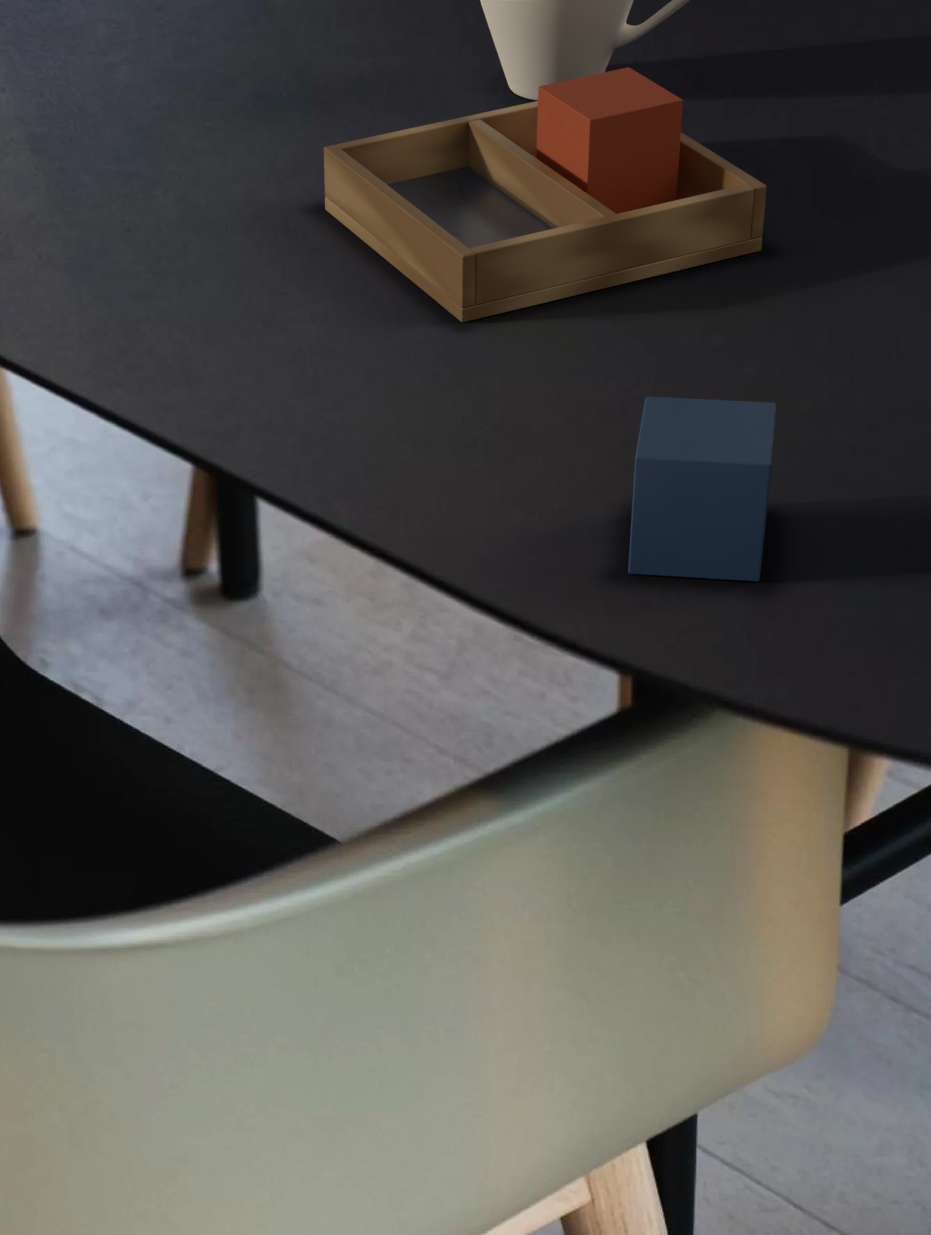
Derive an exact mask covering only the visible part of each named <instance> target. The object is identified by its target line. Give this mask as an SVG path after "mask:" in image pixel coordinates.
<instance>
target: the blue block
mask: <svg viewBox="0 0 931 1235" xmlns="http://www.w3.org/2000/svg"><path fill="white" fill-rule="evenodd" d="M641 415H642V416H641V421H640V427H639V433H638V437H637V438H638V439H637V444H636V451H635V456H634V467H633V468H634V469H633V470H634V471H633V487H632V504H631V519H630V521H631V522H630V536H629V552H628V568H627V572H628V574H629V575H640V576H641V575H642V576H658V577H673V578H688V579H689V578H691V579H707V580H723V581H740V582H741V581H742V582H754V583H755V582H757V583H758V582H760V581H761V575H762V574H761V573H762V565H763V564H762V563H763V553H764V543H765V534H766V525H767V524H766V523H767V513H768V503H769V495H770V494H769V492H770V484H771V483H770V482H771V475H772V474H771V473H772V464H773V463H772V462H773V452H774V441H775V440H774V439H775V429H776V417H777V416H776V415H777V403H776V402H771V401H770V402H768V401H767V402H766V401H746V400H745V401H744V400H727V399H708V398H707V399H705V398H687V397H686V398H685V397H667V396H666V397H664V396H646V397H645V398H644V403H643V408H642V414H641Z"/></svg>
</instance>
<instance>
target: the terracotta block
mask: <svg viewBox="0 0 931 1235" xmlns="http://www.w3.org/2000/svg"><path fill="white" fill-rule="evenodd" d="M537 101H538V120H537V154H536V158H537V159H538V160H540V161H541V162H542V163H544V164H545V165H547V166H548V167H550V168H551V169H552V170H554V171H555V172H557V173H558V174H560V175H561V176H563V177H564V178H565V179H567V180H568V181H570V182H571V183H573V184H574V185H576V186H577V187H578V188H580V189H581V190H583V191H584V192H586V193H587V194H588V195H590V196H591V197H593V198H594V199H596V200H597V201H599V202H600V203H601V204H603V205H604V206H606V207H607V208H609V209H610V210H612V211H613V212H614V213H616V214H619V213H623V212H628V211H632V210H636V209H641V208H645V207H649V206H654V205H658V204H662V203H667V202H671V201H675V200H676V195H677V180H678V165H679V150H680V135H681V132H682V119H683V104H684V100H683V99H682V98H681V97H679V96H677V95H676V94H675V93H672V92H671V91H669V90H668V89H666V88H664V87H663V86H660V85H659V84H657V83H656V82H654V81H653V80H651V79H650V78H648V77H646V76H644V75H643V74H641V73H640V72H637V71H636V70H634V69H633V68H631V67H629V66H628V67H624V68H618V69H614V70H609V71H605V72H604V73H600V74H595V75H590V76H586V77H581V78H576V79H571V80H567V81H562V82H557V83H553V84H548V85H543V86H539V87H538V100H537Z"/></svg>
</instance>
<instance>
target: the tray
mask: <svg viewBox="0 0 931 1235" xmlns="http://www.w3.org/2000/svg"><path fill="white" fill-rule="evenodd" d="M537 120H538V100H534V101H532V102H531V101H530V102H527V103H522V104H517V105H513V106H508V107H504V108H498V109H493V110H490V111H489V110H488V111H485V112H480V113H476V114H470V115H466V116H462V117H457V118H452V119H448V120H443V121H442V120H441V121H438V122H433V123H429V124H424V125H420V126H415V127H410V128H405V129H402V130H397V131H392V132H391V131H390V132H387V133H383V134H377V135H373V136H369V137H368V136H367V137H364V138H359V139H354V140H350V141H345V142H340V143H336V144H331V145H327V146H324V147H323V168H324V169H323V170H324V171H323V174H324V175H323V176H324V196H325V197H324V209H325V211H326V212H327V213H329V214H330V215H331V216H333V217H334V219H336V220H337V221H338V222H339V223H341V225H343V226H344V227H345V228H347V229H348V230H349V231H350V232H352V233H353V234H354V235H355V236H356V237H358V238H359V239H360V240H361V241H362V242H364V243H365V244H366V245H367V246H368V247H370V248H371V249H372V250H373V251H374V252H376V253H377V254H378V255H379V256H381V257H382V258H383V259H384V260H386V261H387V262H388V263H389V264H391V266H393V267H394V268H395V269H396V270H398V271H399V272H400V273H401V274H402V275H404V276H405V277H406V278H407V279H409V280H410V281H411V282H412V283H413V284H414V285H416V286H417V287H418V288H419V289H421V290H422V291H423V292H424V293H425V294H426V295H428V296H429V297H430V298H432V299H433V300H434V301H435V302H437V304H438V305H440V306H441V307H443V308H444V309H445V310H446V311H447V312H448V313H450V314H451V315H452V316H453V317H455V318H456V319H457V321H459V322H461V323H466V322H471V321H476V320H480V319H483V318H487V317H491V316H496V315H499V314H504V313H508V312H512V311H513V312H514V311H516V310H521V309H525V308H529V307H534V306H537V305H542V304H545V303H549V302H554V301H558V300H562V299H566V298H570V297H574V296H578V295H583V294H587V293H591V292H594V291H599V290H603V289H607V288H608V289H609V288H612V287H616V286H620V285H624V284H629V283H633V282H636V281H637V282H638V281H641V280H646V279H650V278H654V277H658V276H662V275H666V274H670V273H674V272H675V273H676V272H678V271H682V270H687V269H691V268H695V267H699V266H703V265H707V264H711V263H716V262H720V261H725V260H728V259H732V258H736V257H740V256H745V255H748V254H753V253H757V252H761V251H762V246H763V232H764V220H765V209H766V200H767V199H766V198H767V189H768V188H767V185H766V184H765V183H763V182H761V181H760V180H758V179H757V178H756V177H754V176H752V175H751V174H749V173H748V172H746V171H744V170H742V169H741V168H739V167H738V166H736V165H735V164H733V163H731V162H729V161H728V160H727V159H725V158H723V157H721V156H720V155H718V154H717V153H715V152H713V151H712V150H710V149H709V148H707V147H706V146H704V145H702V144H701V143H699V142H698V141H696V140H695V139H693V138H691V137H690V136H688V135H687V134H685V133H683V132H682V131H681V135H680V150H679V165H678V180H677V195H676V200H675V201H671V202H667V203H662V204H658V205H654V206H649V207H645V208H641V209H636V210H632V211H628V212H623V213H619V214H616V213H614V212H613V211H612V210H610V209H609V208H607V207H606V206H604V205H603V204H601V203H600V202H599V201H597V200H596V199H594V198H593V197H591V196H590V195H588V194H587V193H586V192H584V191H583V190H581V189H580V188H578V187H577V186H576V185H574V184H573V183H571V182H570V181H568V180H567V179H565V178H564V177H563V176H561V175H560V174H558V173H557V172H555V171H554V170H552V169H551V168H550V167H548V166H547V165H545V164H544V163H542V162H541V161H540V160H538V159H537V158H536V154H537Z"/></svg>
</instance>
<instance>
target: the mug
mask: <svg viewBox="0 0 931 1235" xmlns="http://www.w3.org/2000/svg"><path fill="white" fill-rule="evenodd" d="M479 1H480V5H481V8H482V11H483V13H484V16H485V20H486V23H487V27H488V29H489V32H490V35H491V38H492V41H493V44H494V47H495V50H496V52H497V56H498V59H499V61H500V65H501V67H502V70H503V74H504V76H505V79H506V82H507V85H508V88H509V89H510V90H511V92H512V93H513V94H515V95H517V96H518V97H521V98H524V99H528V100H532V101H538V87H539V86H543V85H548V84H553V83H557V82H562V81H567V80H571V79H576V78H581V77H586V76H590V75H595V74H600V73H604V72H606V69H607V67H608V65H609V63H610V60H611V57H612V56H613V54H614V51H615V50H616V49H618V48H621V47H623V46H627V45H628V44H630V43H633V42H634V41H637V40H638V39H639V38H641V37H643V36H644V35H646V34H647V33H649V32H650V31H651V30H653V29H654V28H655V27H657V26H658V25H660V24H661V23H662V22H664V21H665V20H667V19H668V18H670V16H672V15H674V14H675V13H677V11H678V10H680V9H681V8H682V7H684V6H685V5H686V4H687V3H688V2H690V0H671V1H670V2H669V1H668V3H666V4H665V5H664V6H663V7H661V8H660V9H659V10H657V12H655V13H654V14H653V15H652V16H650V17H649V18H648V19H646V20H645V21H643V22H642V23H640V24H637V25H632V24H628V23H627V20H628V16H629V14H630V11H631V9H632V6H633V3H634V0H479Z"/></svg>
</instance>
